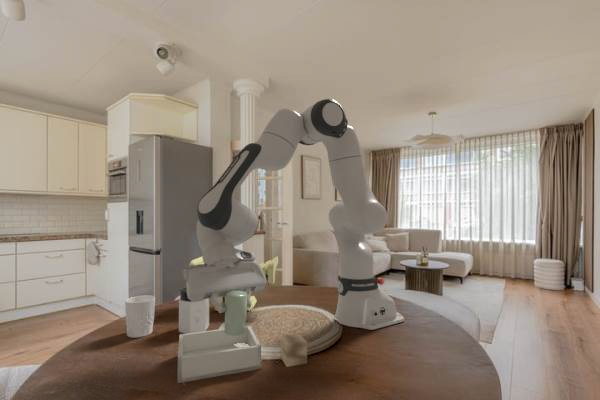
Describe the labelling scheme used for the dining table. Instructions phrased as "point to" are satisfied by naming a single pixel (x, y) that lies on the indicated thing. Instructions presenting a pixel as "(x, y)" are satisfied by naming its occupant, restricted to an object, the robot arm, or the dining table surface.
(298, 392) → the dining table surface
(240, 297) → the sage cylinder
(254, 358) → the tote
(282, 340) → the beech cube
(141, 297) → the white cup
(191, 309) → the jar
